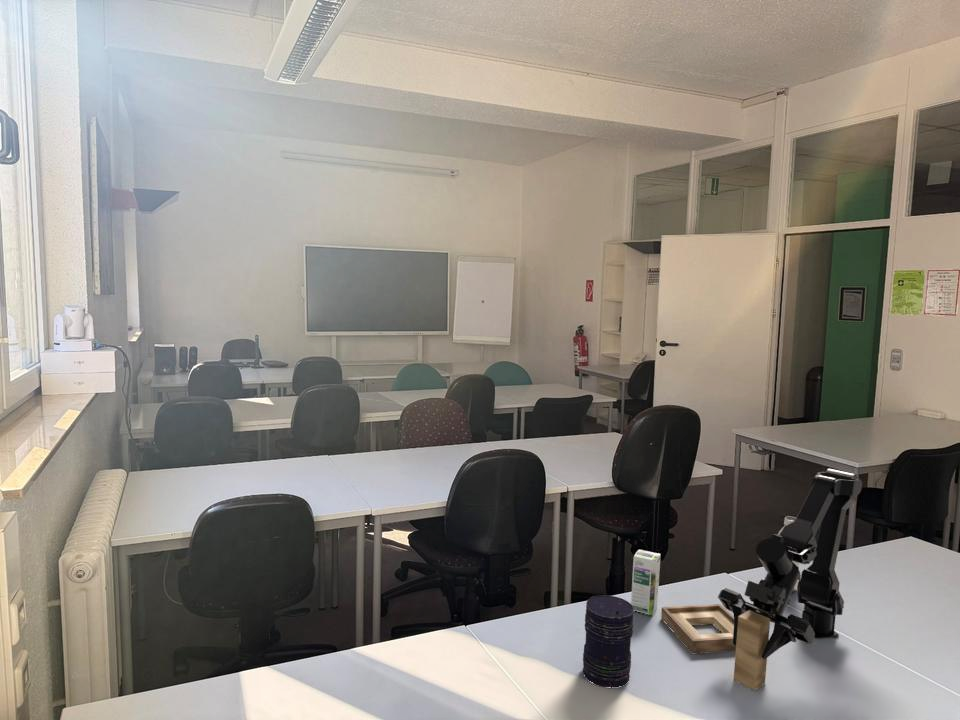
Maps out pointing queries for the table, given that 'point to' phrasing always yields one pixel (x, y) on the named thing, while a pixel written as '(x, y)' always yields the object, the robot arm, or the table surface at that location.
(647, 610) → the syrup box
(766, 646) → the robot arm
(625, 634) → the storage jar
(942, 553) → the table surface
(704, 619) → the socket box
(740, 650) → the peg
